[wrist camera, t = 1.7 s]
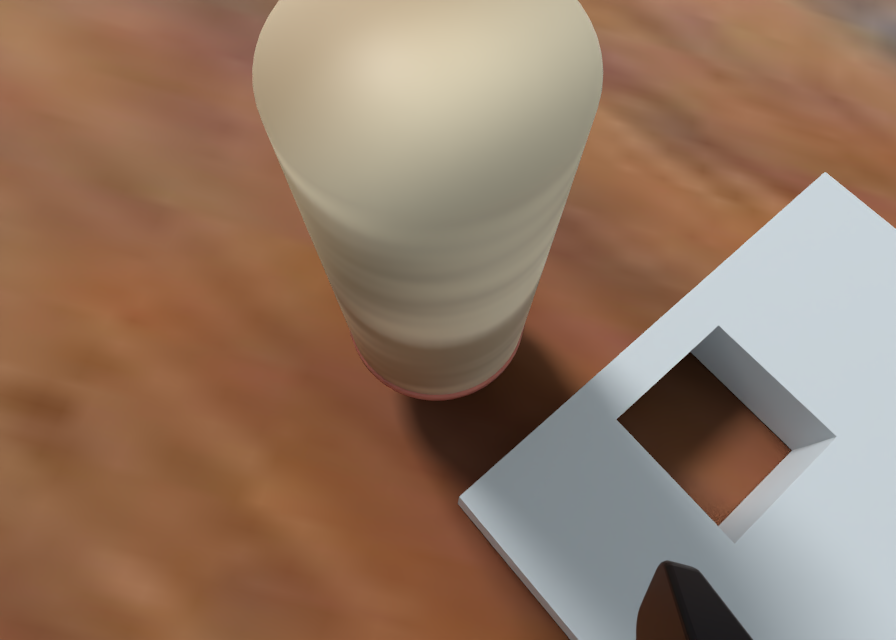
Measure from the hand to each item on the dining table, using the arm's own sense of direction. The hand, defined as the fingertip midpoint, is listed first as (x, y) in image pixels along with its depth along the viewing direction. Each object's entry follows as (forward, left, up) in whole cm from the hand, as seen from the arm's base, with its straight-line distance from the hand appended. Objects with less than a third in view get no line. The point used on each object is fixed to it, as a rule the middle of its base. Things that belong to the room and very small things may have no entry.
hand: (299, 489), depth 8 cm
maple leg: (+4, -5, -12) cm, 14 cm away
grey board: (-7, -10, -12) cm, 17 cm away
